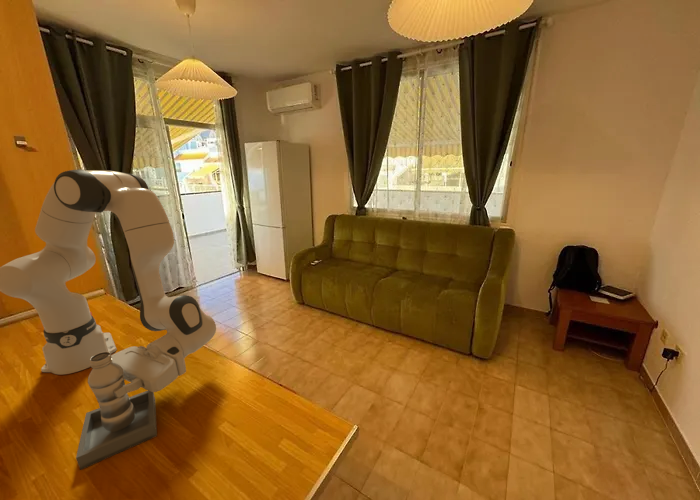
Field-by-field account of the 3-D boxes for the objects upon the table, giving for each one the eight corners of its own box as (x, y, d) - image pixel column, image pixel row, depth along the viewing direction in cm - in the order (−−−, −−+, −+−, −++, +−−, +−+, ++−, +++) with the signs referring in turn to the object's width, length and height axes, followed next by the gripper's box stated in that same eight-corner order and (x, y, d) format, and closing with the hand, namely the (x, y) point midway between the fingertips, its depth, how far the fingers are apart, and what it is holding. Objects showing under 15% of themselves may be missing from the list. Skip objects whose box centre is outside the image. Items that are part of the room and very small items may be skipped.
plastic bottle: (120, 438, 67) (97, 368, 61) (96, 433, 68) (72, 364, 62) (144, 415, 73) (125, 349, 67) (122, 411, 74) (102, 346, 68)
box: (89, 423, 73) (86, 412, 72) (155, 398, 80) (152, 388, 79) (80, 469, 62) (75, 458, 61) (156, 436, 69) (154, 425, 68)
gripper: (136, 335, 82) (76, 366, 69) (186, 354, 74) (129, 391, 62) (141, 354, 83) (83, 387, 71) (190, 373, 76) (135, 414, 64)
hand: (105, 389), depth 66 cm, fingers closed on plastic bottle, 6 cm apart
